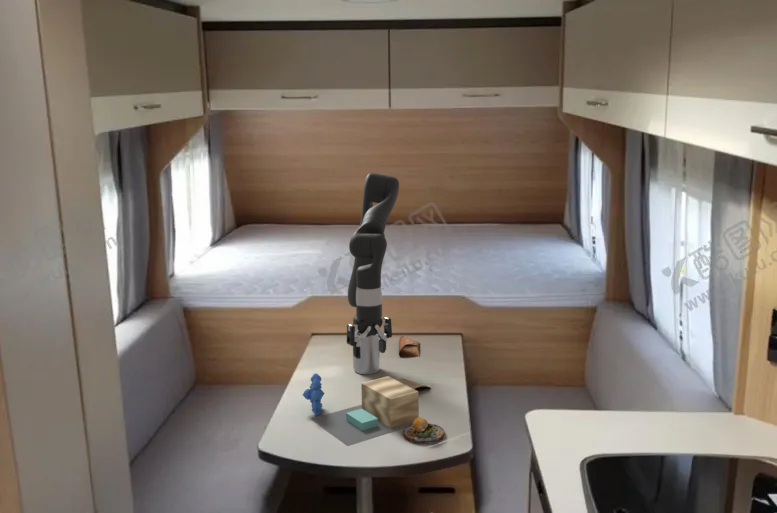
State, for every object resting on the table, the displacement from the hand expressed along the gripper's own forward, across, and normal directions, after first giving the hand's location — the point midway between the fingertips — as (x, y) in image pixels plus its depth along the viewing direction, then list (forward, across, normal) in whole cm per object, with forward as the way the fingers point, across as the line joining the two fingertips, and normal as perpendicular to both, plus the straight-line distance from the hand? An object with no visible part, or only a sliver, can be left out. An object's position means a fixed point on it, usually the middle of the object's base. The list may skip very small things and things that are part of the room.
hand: (369, 355), depth 204 cm
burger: (+21, -7, +17) cm, 28 cm away
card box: (+18, +3, 0) cm, 18 cm away
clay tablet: (+22, -23, -14) cm, 34 cm away
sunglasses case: (+22, -48, -48) cm, 71 cm away
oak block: (+20, -7, 0) cm, 22 cm away
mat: (+21, +1, -1) cm, 21 cm away
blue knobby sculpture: (+21, +11, -16) cm, 29 cm away
